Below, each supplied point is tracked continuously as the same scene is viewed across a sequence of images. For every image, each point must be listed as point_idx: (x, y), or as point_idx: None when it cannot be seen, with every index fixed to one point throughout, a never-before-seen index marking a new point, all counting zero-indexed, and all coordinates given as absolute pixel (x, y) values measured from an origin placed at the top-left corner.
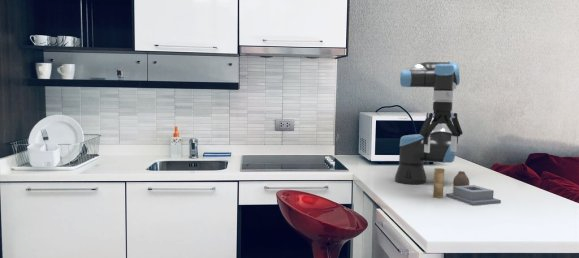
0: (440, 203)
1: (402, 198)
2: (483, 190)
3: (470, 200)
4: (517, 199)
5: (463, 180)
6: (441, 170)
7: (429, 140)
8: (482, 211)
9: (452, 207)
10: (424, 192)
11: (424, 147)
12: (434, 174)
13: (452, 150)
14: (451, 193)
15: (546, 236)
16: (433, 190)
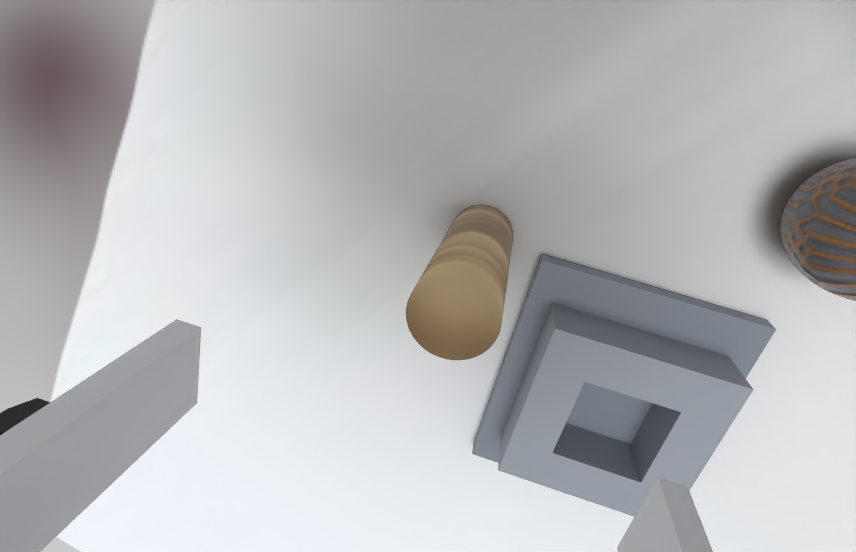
0: (362, 329)
1: (250, 135)
2: (608, 492)
3: (502, 428)
4: (845, 532)
5: (832, 287)
6: (432, 349)
7: (26, 545)
8: (416, 502)
9: (353, 400)
10: (519, 91)
11: (125, 358)
12: (425, 270)
13: (640, 522)
14: (577, 280)
15: None
16: (453, 224)
